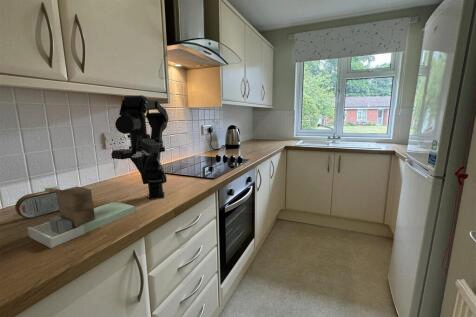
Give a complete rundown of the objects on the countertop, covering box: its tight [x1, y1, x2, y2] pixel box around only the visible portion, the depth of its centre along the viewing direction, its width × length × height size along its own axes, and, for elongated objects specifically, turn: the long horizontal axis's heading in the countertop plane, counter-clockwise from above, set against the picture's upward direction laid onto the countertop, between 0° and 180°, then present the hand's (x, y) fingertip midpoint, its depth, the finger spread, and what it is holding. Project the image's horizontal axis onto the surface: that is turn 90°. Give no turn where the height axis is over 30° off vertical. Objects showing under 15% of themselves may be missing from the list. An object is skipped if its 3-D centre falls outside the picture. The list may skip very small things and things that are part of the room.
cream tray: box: [27, 221, 86, 249], centre depth 70 cm, size 9×13×3 cm, turn 60°
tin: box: [14, 188, 62, 219], centre depth 85 cm, size 15×3×8 cm, turn 141°
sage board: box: [72, 200, 136, 234], centre depth 81 cm, size 18×12×2 cm, turn 150°
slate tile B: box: [49, 215, 63, 233], centre depth 72 cm, size 4×4×2 cm
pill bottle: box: [44, 184, 59, 191], centre depth 92 cm, size 5×5×8 cm
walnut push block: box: [56, 186, 95, 227], centre depth 74 cm, size 6×8×10 cm
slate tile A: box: [57, 219, 73, 234], centre depth 69 cm, size 4×4×2 cm
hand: (142, 174), depth 87 cm, fingers closed
